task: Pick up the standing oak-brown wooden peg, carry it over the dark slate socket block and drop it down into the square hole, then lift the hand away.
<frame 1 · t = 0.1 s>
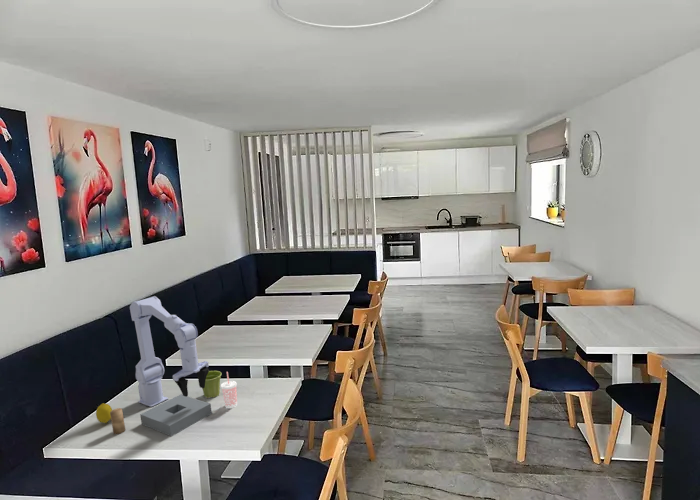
hand: (193, 391, 182), 10 cm above the table, tool pointing down, fingers open, 7 cm apart
lemon: (106, 423, 184), on the table
peg: (119, 431, 177), on the table
plant pot: (212, 395, 202), on the table
beverage cup: (231, 406, 191), on the table
socket block: (177, 418, 183), on the table
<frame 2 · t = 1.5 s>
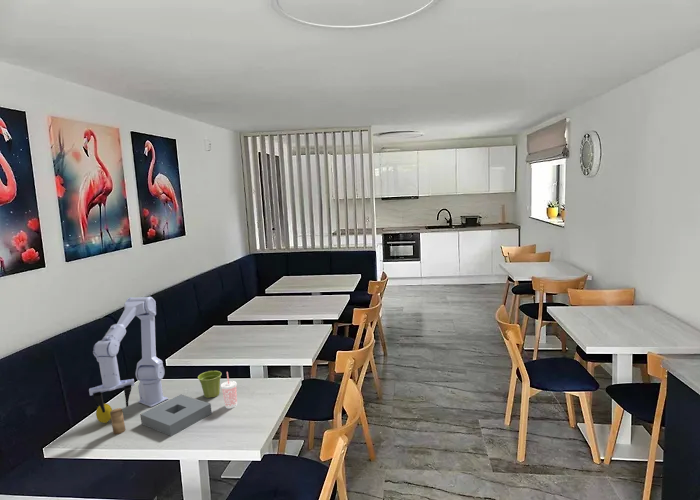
hand: (115, 408, 176), 9 cm above the table, tool pointing down, fingers open, 7 cm apart
nothing on the table moved.
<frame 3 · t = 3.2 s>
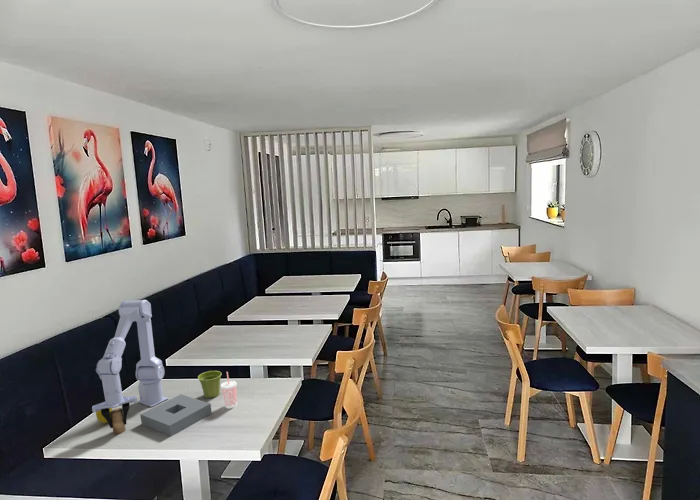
hand: (118, 425, 177), 2 cm above the table, tool pointing down, fingers closed on peg, 4 cm apart
peg: (119, 431, 177), on the table, touching gripper
everything else where it was.
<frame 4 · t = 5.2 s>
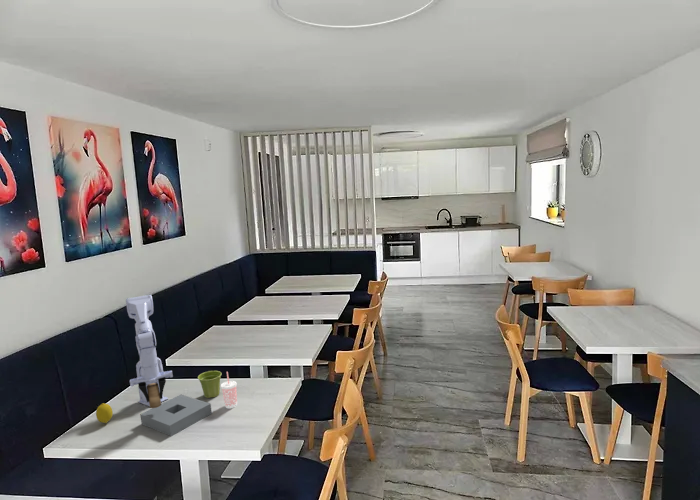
hand: (154, 399, 180), 9 cm above the table, tool pointing down, fingers closed on peg, 4 cm apart
peg: (155, 405, 180), point 7 cm above the table, touching gripper
everything else where it was.
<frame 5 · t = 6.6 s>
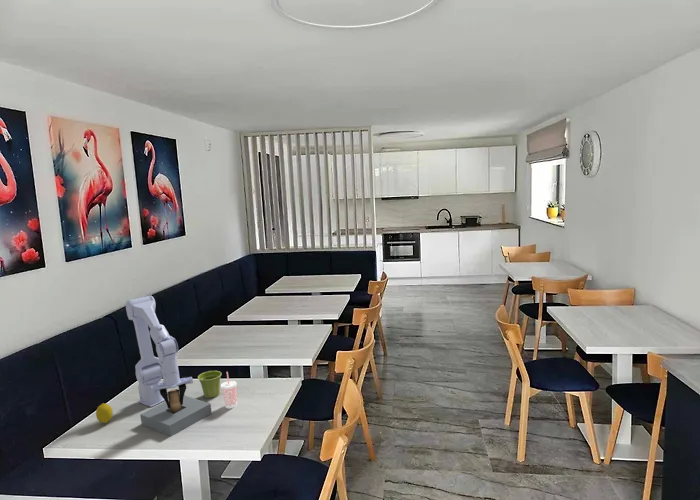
hand: (175, 405, 182), 5 cm above the table, tool pointing down, fingers closed on peg, 4 cm apart
peg: (176, 411, 183), point 3 cm above the table, touching gripper
everything else where it was.
when the fingers open (5 cm above the table, at t = 7.6 s): peg drops 2 cm, resting in socket block.
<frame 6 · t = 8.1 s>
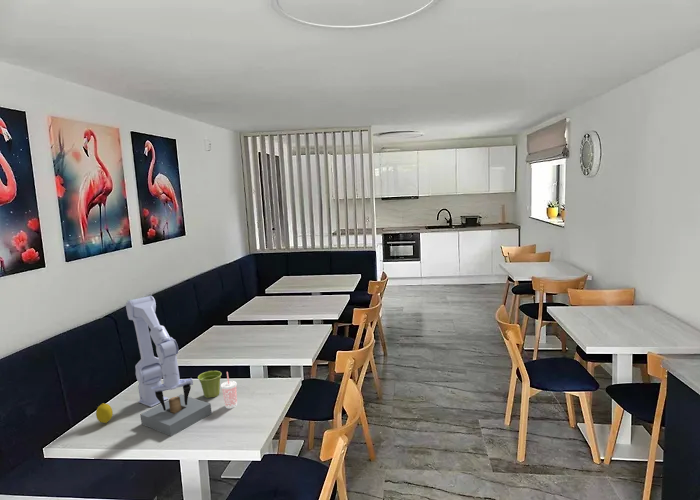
hand: (175, 406, 182), 5 cm above the table, tool pointing down, fingers open, 7 cm apart
peg: (177, 418, 183), resting in socket block
everything else where it was.
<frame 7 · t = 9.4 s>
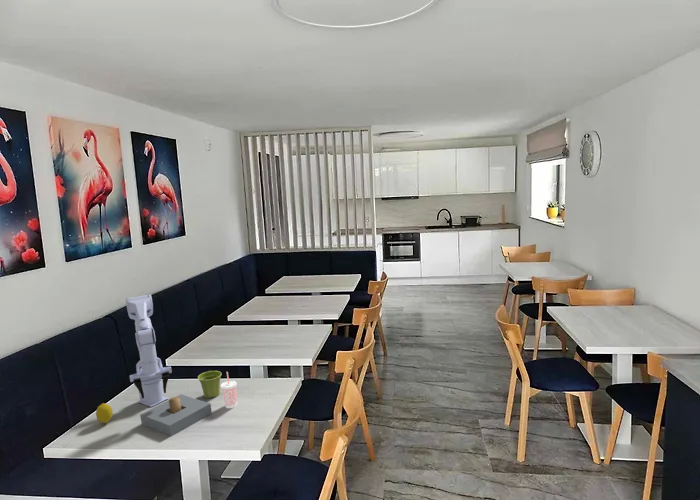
hand: (154, 394, 184), 9 cm above the table, tool pointing down, fingers open, 7 cm apart
nothing on the table moved.
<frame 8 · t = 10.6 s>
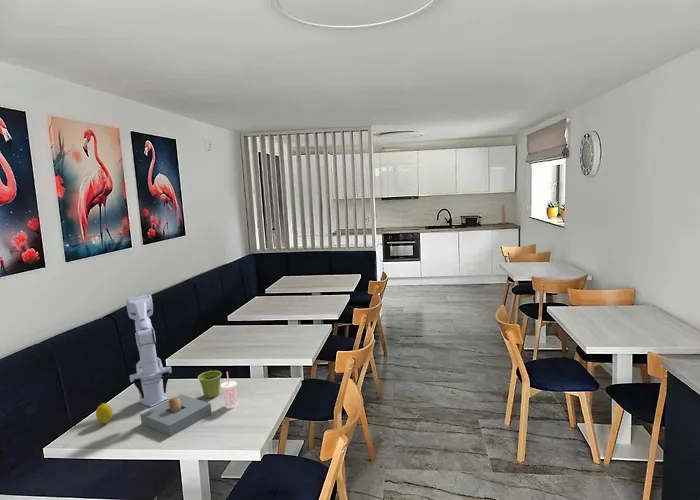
hand: (154, 394, 184), 9 cm above the table, tool pointing down, fingers open, 7 cm apart
nothing on the table moved.
at the end: peg 0.1 cm off-centre on the socket block, point 0.0 cm above the socket block's base; peg tilted 0°; the gripper is holding nothing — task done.
